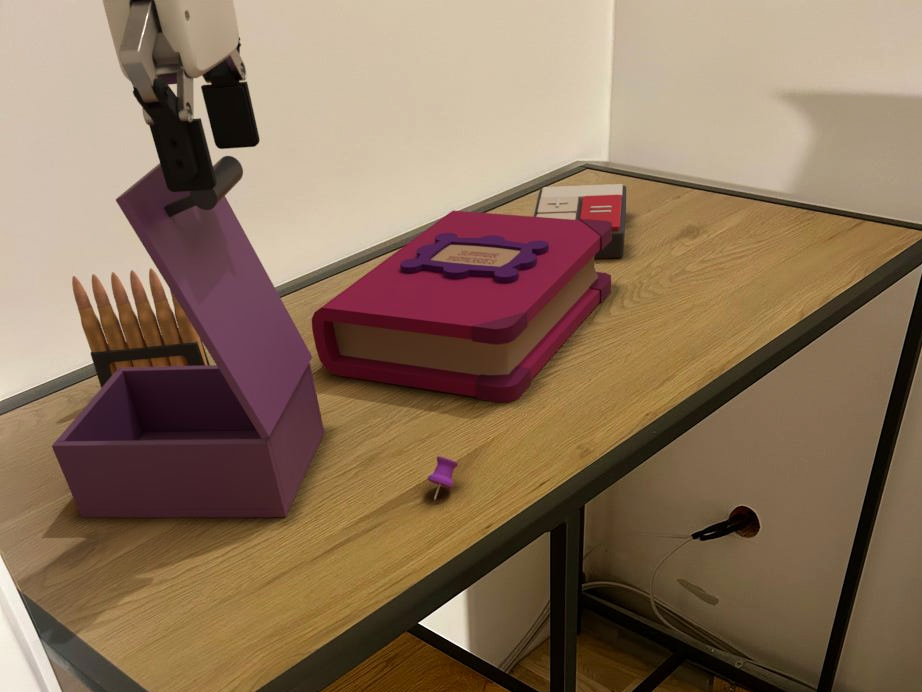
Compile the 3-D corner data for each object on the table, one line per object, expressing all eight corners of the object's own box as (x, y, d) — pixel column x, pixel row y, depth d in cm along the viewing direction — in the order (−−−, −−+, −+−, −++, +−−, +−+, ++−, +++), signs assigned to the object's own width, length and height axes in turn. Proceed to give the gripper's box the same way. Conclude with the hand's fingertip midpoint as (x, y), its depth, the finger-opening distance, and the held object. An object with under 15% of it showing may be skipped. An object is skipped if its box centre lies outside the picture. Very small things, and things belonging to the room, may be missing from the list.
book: (320, 374, 95) (305, 299, 90) (447, 270, 113) (440, 202, 108) (513, 404, 87) (508, 324, 82) (616, 287, 105) (617, 215, 100)
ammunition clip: (216, 383, 95) (182, 261, 87) (213, 391, 94) (178, 269, 86) (109, 393, 95) (66, 273, 87) (105, 402, 94) (60, 280, 86)
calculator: (528, 229, 111) (539, 182, 121) (530, 266, 114) (540, 216, 124) (624, 226, 109) (626, 178, 119) (623, 263, 112) (625, 213, 122)
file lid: (114, 199, 61) (174, 171, 59) (186, 141, 70) (238, 115, 69) (261, 439, 71) (316, 421, 70) (305, 359, 81) (354, 341, 80)
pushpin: (423, 497, 76) (419, 464, 74) (444, 479, 78) (440, 446, 76) (445, 503, 76) (441, 470, 74) (465, 485, 77) (462, 452, 75)
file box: (81, 517, 78) (50, 445, 74) (142, 435, 88) (118, 367, 84) (285, 517, 76) (266, 443, 71) (324, 432, 86) (310, 362, 81)
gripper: (131, -159, 61) (205, 136, 72) (0, -144, 48) (115, 212, 59) (244, -172, 60) (301, 129, 71) (140, -160, 47) (231, 205, 58)
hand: (217, 166), depth 65 cm, fingers open, 9 cm apart
